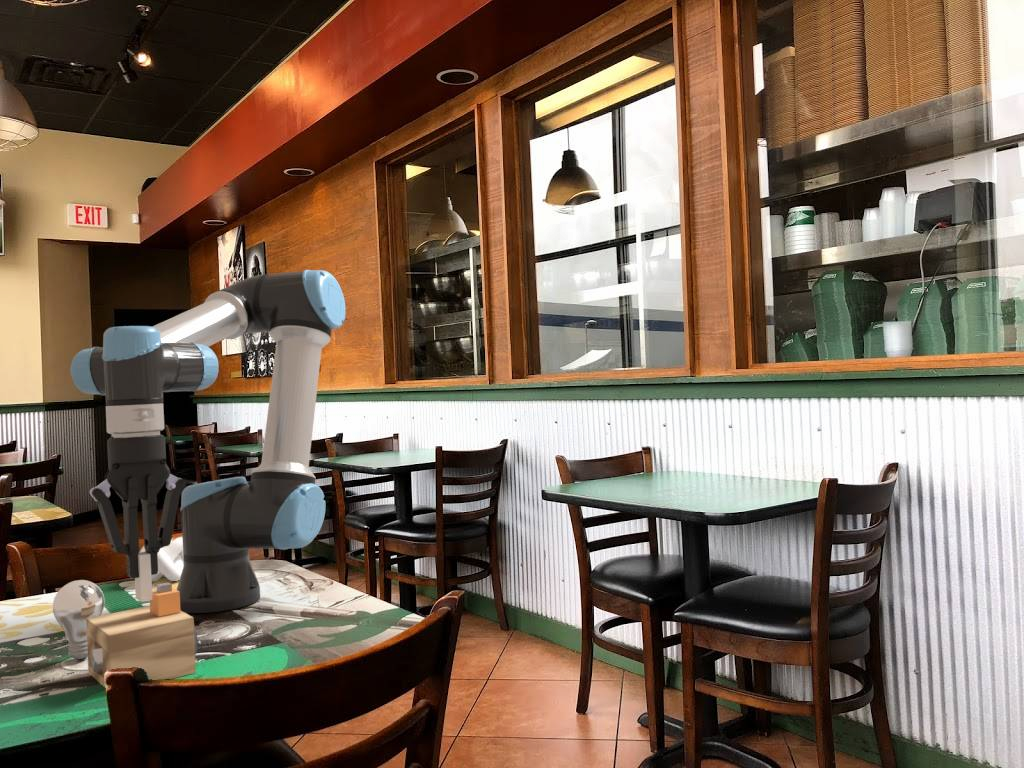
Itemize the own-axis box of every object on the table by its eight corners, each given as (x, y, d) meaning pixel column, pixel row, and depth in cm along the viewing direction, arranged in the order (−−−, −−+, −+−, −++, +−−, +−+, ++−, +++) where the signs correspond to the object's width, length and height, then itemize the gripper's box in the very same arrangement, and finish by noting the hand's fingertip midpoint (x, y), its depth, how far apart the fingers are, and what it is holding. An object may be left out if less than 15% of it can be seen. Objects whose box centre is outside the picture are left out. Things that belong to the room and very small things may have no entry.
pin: (89, 675, 113) (88, 638, 113) (185, 652, 122) (184, 617, 122) (99, 684, 109) (98, 646, 109) (198, 660, 118) (196, 624, 118)
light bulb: (67, 654, 125) (64, 576, 125) (114, 650, 126) (111, 573, 126) (45, 669, 118) (42, 587, 118) (95, 666, 119) (92, 584, 119)
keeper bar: (150, 611, 118) (148, 584, 118) (171, 607, 120) (170, 580, 120) (158, 616, 115) (157, 588, 115) (180, 612, 117) (179, 584, 117)
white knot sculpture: (120, 587, 169) (119, 544, 169) (155, 573, 181) (153, 533, 181) (170, 587, 167) (168, 543, 167) (202, 573, 179) (200, 533, 179)
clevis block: (88, 672, 116) (86, 618, 116) (167, 653, 124) (165, 602, 124) (111, 694, 107) (109, 635, 107) (195, 672, 114) (193, 617, 114)
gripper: (93, 439, 109) (101, 614, 109) (191, 431, 117) (199, 594, 117) (79, 437, 114) (87, 604, 115) (174, 430, 123) (181, 585, 123)
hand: (144, 598), depth 116 cm, fingers closed
